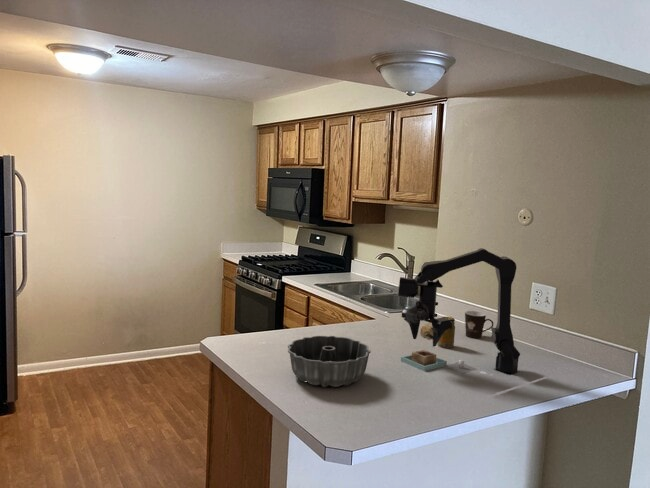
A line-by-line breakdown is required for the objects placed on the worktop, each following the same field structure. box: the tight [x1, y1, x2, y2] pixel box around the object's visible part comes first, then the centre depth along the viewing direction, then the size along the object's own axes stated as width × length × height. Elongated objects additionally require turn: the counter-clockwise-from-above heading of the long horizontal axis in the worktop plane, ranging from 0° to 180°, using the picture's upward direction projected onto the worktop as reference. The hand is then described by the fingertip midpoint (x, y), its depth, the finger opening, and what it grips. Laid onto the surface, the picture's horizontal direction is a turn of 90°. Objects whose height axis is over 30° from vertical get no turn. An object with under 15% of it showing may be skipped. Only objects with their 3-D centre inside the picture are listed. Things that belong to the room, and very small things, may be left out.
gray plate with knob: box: [444, 359, 478, 374], centre depth 180 cm, size 8×8×3 cm
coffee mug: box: [464, 310, 494, 340], centre depth 219 cm, size 12×9×10 cm
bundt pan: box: [287, 335, 371, 388], centre depth 167 cm, size 26×26×10 cm
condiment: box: [432, 316, 456, 350], centre depth 202 cm, size 7×8×12 cm
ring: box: [411, 349, 437, 366], centre depth 182 cm, size 6×6×4 cm
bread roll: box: [419, 322, 433, 340], centre depth 218 cm, size 10×10×8 cm
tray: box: [400, 354, 448, 372], centre depth 183 cm, size 11×11×2 cm
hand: (424, 342), depth 182 cm, fingers open, 9 cm apart
